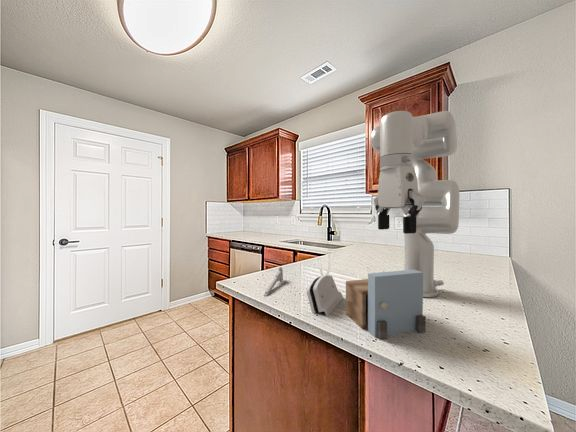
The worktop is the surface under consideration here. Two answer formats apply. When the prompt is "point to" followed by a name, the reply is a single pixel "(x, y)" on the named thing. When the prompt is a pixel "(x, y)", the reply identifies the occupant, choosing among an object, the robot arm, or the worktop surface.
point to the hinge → (323, 294)
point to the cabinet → (359, 308)
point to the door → (395, 300)
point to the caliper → (277, 278)
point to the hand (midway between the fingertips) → (395, 231)
